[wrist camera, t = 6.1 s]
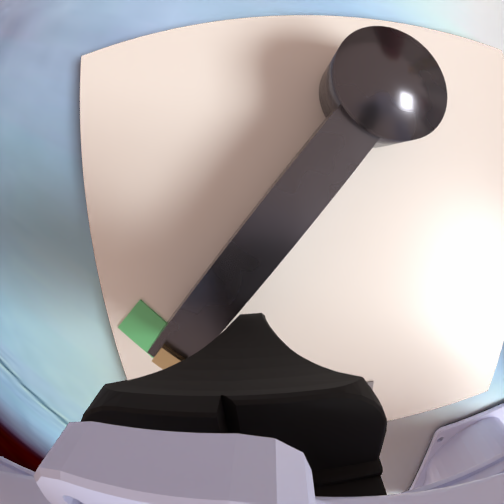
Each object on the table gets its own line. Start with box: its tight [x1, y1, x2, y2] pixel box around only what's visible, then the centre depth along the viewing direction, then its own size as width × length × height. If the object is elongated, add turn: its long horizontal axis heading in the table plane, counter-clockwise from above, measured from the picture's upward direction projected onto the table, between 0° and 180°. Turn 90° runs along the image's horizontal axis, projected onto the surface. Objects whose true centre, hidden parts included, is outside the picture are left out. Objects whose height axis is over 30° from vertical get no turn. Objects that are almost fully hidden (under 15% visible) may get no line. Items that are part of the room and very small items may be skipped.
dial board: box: [80, 15, 504, 421], centre depth 13 cm, size 20×21×1 cm
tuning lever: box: [147, 26, 447, 369], centre depth 10 cm, size 14×4×3 cm, turn 142°
